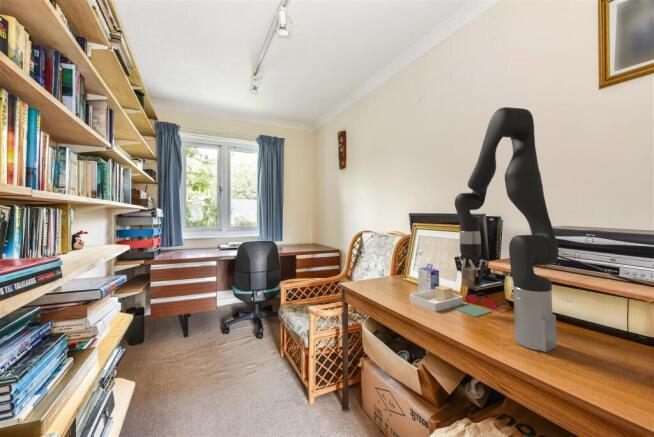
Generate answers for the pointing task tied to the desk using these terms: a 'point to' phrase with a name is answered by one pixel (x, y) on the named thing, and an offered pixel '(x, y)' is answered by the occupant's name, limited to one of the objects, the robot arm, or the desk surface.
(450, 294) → the kraft block
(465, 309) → the felt mat
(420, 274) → the ink cartridge box
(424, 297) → the bin
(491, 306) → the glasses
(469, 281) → the labelled block
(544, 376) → the desk surface
